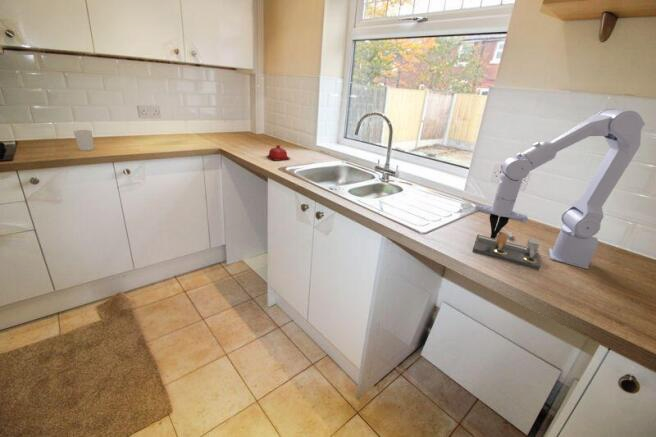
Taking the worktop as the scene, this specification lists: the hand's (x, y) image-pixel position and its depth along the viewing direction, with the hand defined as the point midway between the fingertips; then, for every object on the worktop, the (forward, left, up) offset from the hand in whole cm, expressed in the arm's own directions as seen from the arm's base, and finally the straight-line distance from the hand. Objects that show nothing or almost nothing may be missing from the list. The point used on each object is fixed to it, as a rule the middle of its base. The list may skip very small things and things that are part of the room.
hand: (492, 237), depth 101 cm
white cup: (+206, +18, -3) cm, 207 cm away
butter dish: (+121, -45, -4) cm, 129 cm away
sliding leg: (-2, +2, -2) cm, 3 cm away
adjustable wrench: (-2, -21, -4) cm, 21 cm away
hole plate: (-4, +2, -3) cm, 6 cm away
